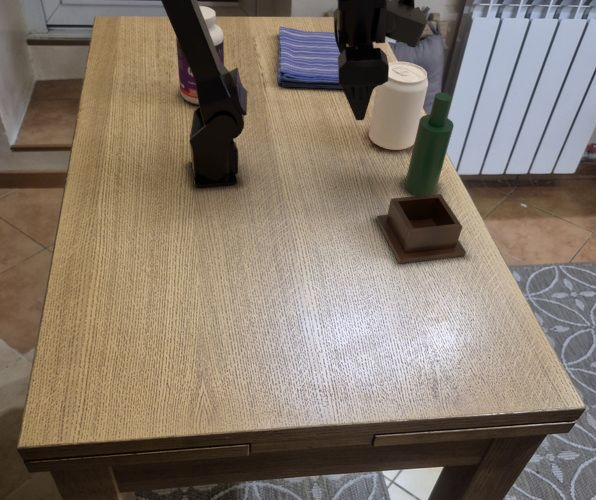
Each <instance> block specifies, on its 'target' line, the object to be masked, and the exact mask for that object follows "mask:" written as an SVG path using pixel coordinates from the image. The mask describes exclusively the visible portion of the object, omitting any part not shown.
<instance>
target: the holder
mask: <svg viewBox="0 0 596 500" xmlns="http://www.w3.org/2000/svg"><path fill="white" fill-rule="evenodd" d="M375 220H376V222H377V224H378V226H379V228H380V230H381V232H382V234H383V236H384V237H385V240H386V241H387V243H388V245H389V247H390V249H391V251H392V252H393V255H394V257H395V259H396V260H397V262H398V264H399V265H400V264H408V263H415V262H416V263H417V262H425V261H426V262H427V261H432V260H442V259H451V258H458V257H464V256H465V255H466V253H467V251H466V249H465V248H464V247H463V245H462V243H461V242H460V240H459V238H460V236H461V233H462V230H463V225H462V224H461V222H460V221H459V219H458V217H457V216H456V215H455V213H454V212H453V210H452V209H451V207H450V205H449V204H448V202H447V201H446V200H445V198H444V196H443V194H442V193H433V194H432V195H422V196H419V195H413V196H402V197H391V198H390V201H389V205H388V210H387V214H381V215H376V219H375Z"/></svg>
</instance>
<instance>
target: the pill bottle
mask: <svg viewBox="0 0 596 500" xmlns="http://www.w3.org/2000/svg"><path fill="white" fill-rule="evenodd" d="M199 7H200V9H201V12H202V15H203V17H204V20H205V22H206V25H207V28H208V30H209V33H210V35H211V38H212V41H213V43H214V46H215V48H216V51H217V54H218V56H219V59H220V61H221V62H222V64H223V65H224V66H225V44H224V42H225V39H224V38H225V36H224V31H223V29H222V28H221V27H220V26H219V25H218V24H217V23H216V22H217V13H216V11H215V10H214V9H212V8H211V7H208V6H203V5H199ZM175 42H176V53H177V68H178V81H179V82H178V83H179V93H180V95H181V97H182V98H183V99H184V100H186V101H187V102H189V103H191V104H194V105H199V101H198V95H197V89H196V83H195V79H194V76H193V74H192V72H191V69H190V67H189V65H188V62H187V60H186V58H185V55H184V53H183V51H182V48H181V46H180V44H179V41H178V39H177V37H176V36H175Z"/></svg>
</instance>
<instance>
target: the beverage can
mask: <svg viewBox="0 0 596 500" xmlns="http://www.w3.org/2000/svg"><path fill="white" fill-rule="evenodd" d="M388 65H389V74H388V82H386V83H384V84H382V85H379V86H377V87H375V94H374V100H373V106H372V110H371V111H372V112H371V117H370V123H369V129H368V138H369V139H370V141H371V142H372V143H373V144H375V145H377V146H378V147H381V148H383V149H386V150H391V151H399V150H405V149H409V148H410V147H413V146H414V142H415V138H416V134H417V130H418V125H419V121H420V118H421V117H422V113H423V108H424V104H425V99H426V95H427V91H428V88H429V87H428V86H429V80H428V72H427V70H426V69H425V68H423V67H422V66H421V65H418V64H415V63H412V62H408V61H392V62H388Z"/></svg>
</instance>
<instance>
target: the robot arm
mask: <svg viewBox="0 0 596 500" xmlns="http://www.w3.org/2000/svg"><path fill="white" fill-rule="evenodd" d="M160 1H161V4H162V6H163V10H164V11H165V13H166V15H167V18H168V20H169V23H170V26H171V27H172V30H173V32H174V35H175V38H176V37H177V39H178V41H179V44H180V46H181V48H182V51H183V53H184V55H185V58H186V60H187V62H188V65H189V67H190V69H191V72H192V74H193V76H194V79H195V83H196V89H197V95H198V101H199V104H198V106H197V108H195V109H194V110H193V113H192V122H191V129H190V134H189V145H190V157H191V158H190V159H191V161H190V162H189V167H190V170H191V174H192V179H193V182H194V187H195V188H207V187H219V186H232V185H236V184H238V178H237V175H238V174H239V150H238V147H237V143H236V142H235V140H234V139H237V138H238V137H239V136H240V135H241V134H242V132H243V130H244V129H245V116H247V114H248V90H247V89H246V88H245V86H243V84H242V83H243V82H242V80H241V76H240V71H239V68H238V67H235V68H233V69H232V70H228V68H227V67H226V65H225V64H224V65H223V64H222V62H221V61H220V59H219V56H218V54H217V51H216V48H215V46H214V43H213V41H212V38H211V35H210V33H209V30H208V28H207V25H206V22H205V20H204V17H203V15H202V12H201V9H200V7H199V6H200V4H199V2H198V0H160ZM336 2H337V7H336V9H334V11H333V31H334V32H333V33H335V41H336V44H337V47H338V49H339V52H340V55H339V56H338V79H339V84H340V86H341V87H342V89H341V90H342V91H343V93H344V96H345V98H346V100H347V103H348V104H349V107H350V109H351V112H352V114H353V116H354V118H355V120H356V121H364V120H365V117H366V115H367V111H368V108H369V105H370V104H369V103H370V101H371V97H372V94H373V92H374V90H375V89H376V87H377V86H379V85H382V84H384V83H386V82H388V74H389V65H388V63H389V60H388V55H387V54H386V52H384V50H383V49H382V48H380V47H375V46H374V43H375V44H386V38H388V39H391V40H393V41H397V42H400V43H402V44H406V46H407V47H409V48H414V49H415V48H417V47H418V45H419V43H420V40H421V38H422V36H423V33H424V31H425V29H426V26H427V24H428V21H427V18H426V16H425V13H424V12H423V10H421V8H420V7H419V6H416V5H415V0H336ZM415 6H416V7H415Z"/></svg>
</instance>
